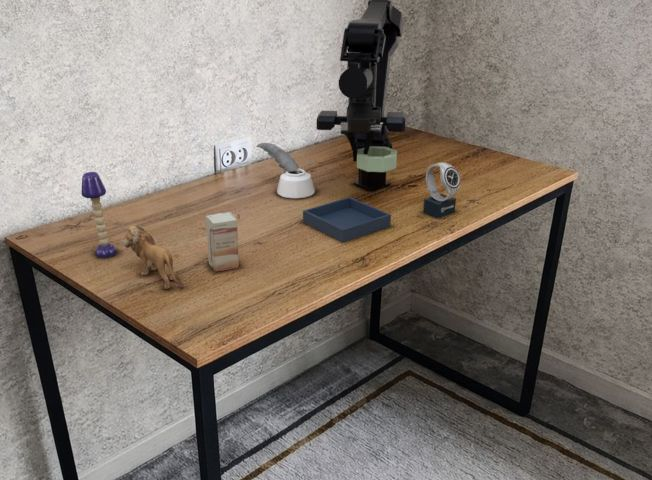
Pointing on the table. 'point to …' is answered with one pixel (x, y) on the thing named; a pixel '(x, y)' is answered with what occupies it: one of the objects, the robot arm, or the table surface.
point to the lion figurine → (150, 253)
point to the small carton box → (222, 241)
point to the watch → (440, 202)
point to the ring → (377, 159)
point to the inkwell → (290, 174)
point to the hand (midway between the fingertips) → (360, 160)
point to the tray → (346, 219)
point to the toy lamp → (97, 211)
